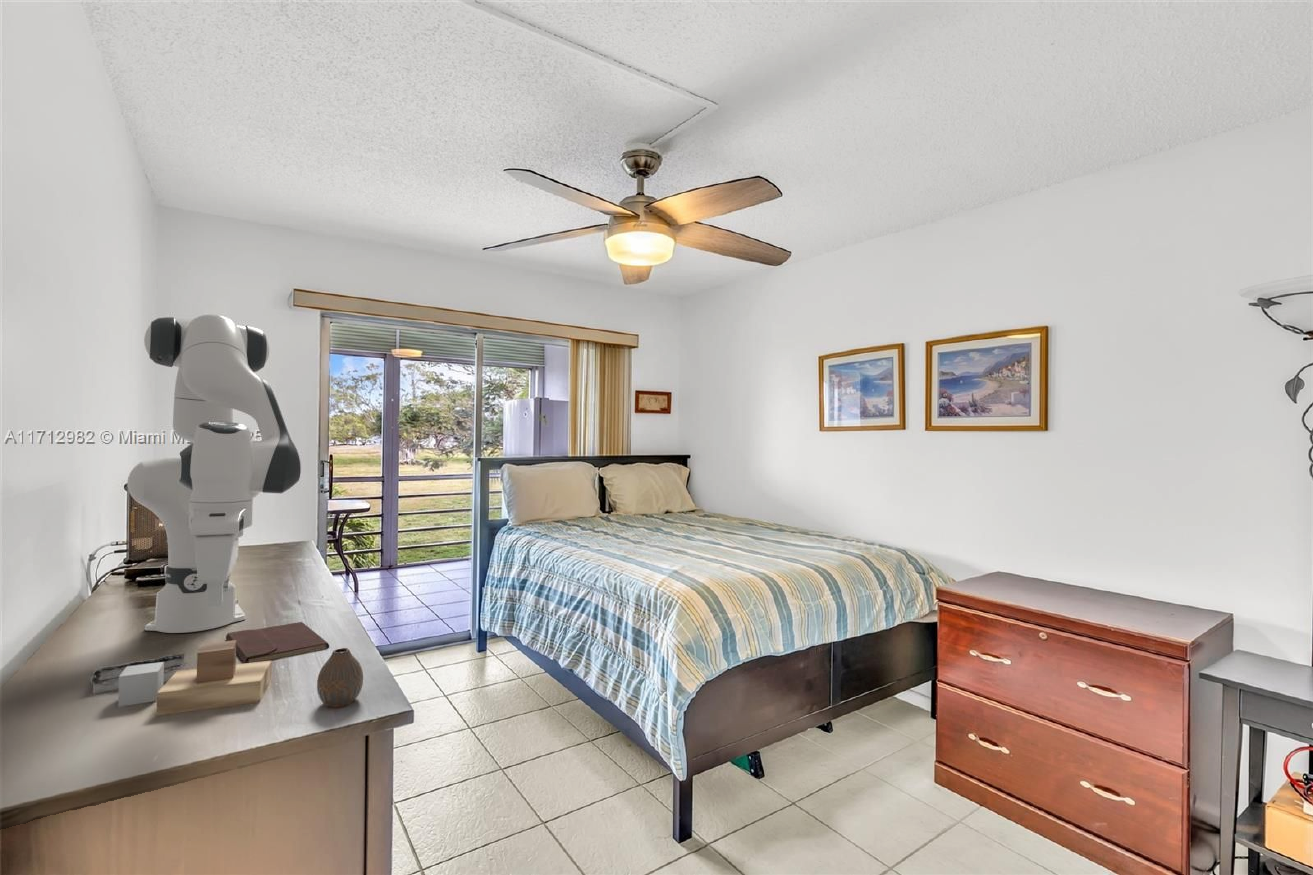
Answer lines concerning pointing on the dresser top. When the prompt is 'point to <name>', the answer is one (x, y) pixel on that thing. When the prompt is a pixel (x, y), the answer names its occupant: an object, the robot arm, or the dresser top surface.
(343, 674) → the vase
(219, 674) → the walnut cube
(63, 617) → the dresser top surface
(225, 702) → the oak block
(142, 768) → the dresser top surface
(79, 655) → the dresser top surface
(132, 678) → the grey block
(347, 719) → the dresser top surface
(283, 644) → the notebook
